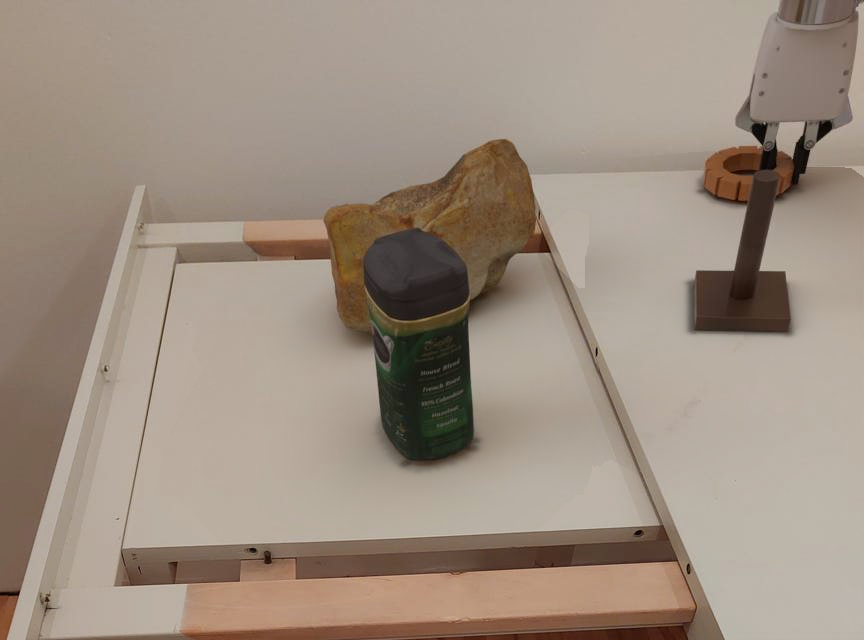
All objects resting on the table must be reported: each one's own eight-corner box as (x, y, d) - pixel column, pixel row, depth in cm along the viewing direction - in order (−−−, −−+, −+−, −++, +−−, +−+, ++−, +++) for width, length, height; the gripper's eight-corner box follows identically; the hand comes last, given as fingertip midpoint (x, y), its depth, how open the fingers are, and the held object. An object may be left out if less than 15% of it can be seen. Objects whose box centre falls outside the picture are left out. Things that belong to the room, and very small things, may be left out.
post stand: (782, 284, 99) (814, 152, 88) (787, 332, 93) (822, 198, 83) (694, 282, 101) (715, 154, 90) (694, 329, 95) (717, 198, 85)
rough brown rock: (483, 238, 113) (471, 104, 102) (553, 288, 102) (548, 143, 91) (307, 302, 109) (275, 169, 98) (359, 361, 98) (330, 219, 87)
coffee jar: (487, 449, 87) (483, 260, 72) (408, 475, 85) (388, 289, 71) (446, 394, 93) (435, 210, 78) (372, 417, 91) (347, 235, 77)
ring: (787, 161, 115) (791, 144, 113) (793, 199, 108) (797, 182, 107) (703, 163, 117) (705, 146, 115) (703, 201, 111) (706, 184, 109)
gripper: (895, -15, 98) (848, 164, 112) (735, -5, 102) (709, 167, 116) (905, 10, 94) (855, 193, 108) (737, 19, 97) (710, 196, 111)
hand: (780, 178), depth 112 cm, fingers closed on ring, 2 cm apart
